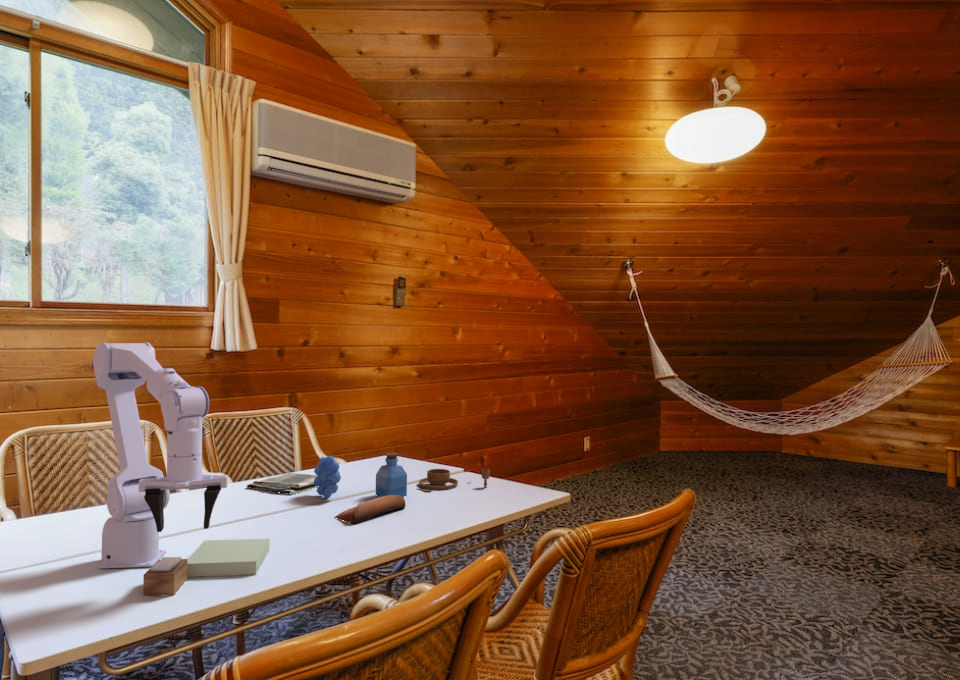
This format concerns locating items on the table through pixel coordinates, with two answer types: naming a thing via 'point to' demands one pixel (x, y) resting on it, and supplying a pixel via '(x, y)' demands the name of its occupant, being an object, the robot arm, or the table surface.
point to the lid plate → (166, 565)
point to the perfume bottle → (391, 478)
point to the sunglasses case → (372, 508)
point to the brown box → (165, 581)
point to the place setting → (444, 479)
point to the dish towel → (286, 483)
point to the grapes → (327, 476)
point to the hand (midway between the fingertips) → (183, 528)
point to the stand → (228, 557)
